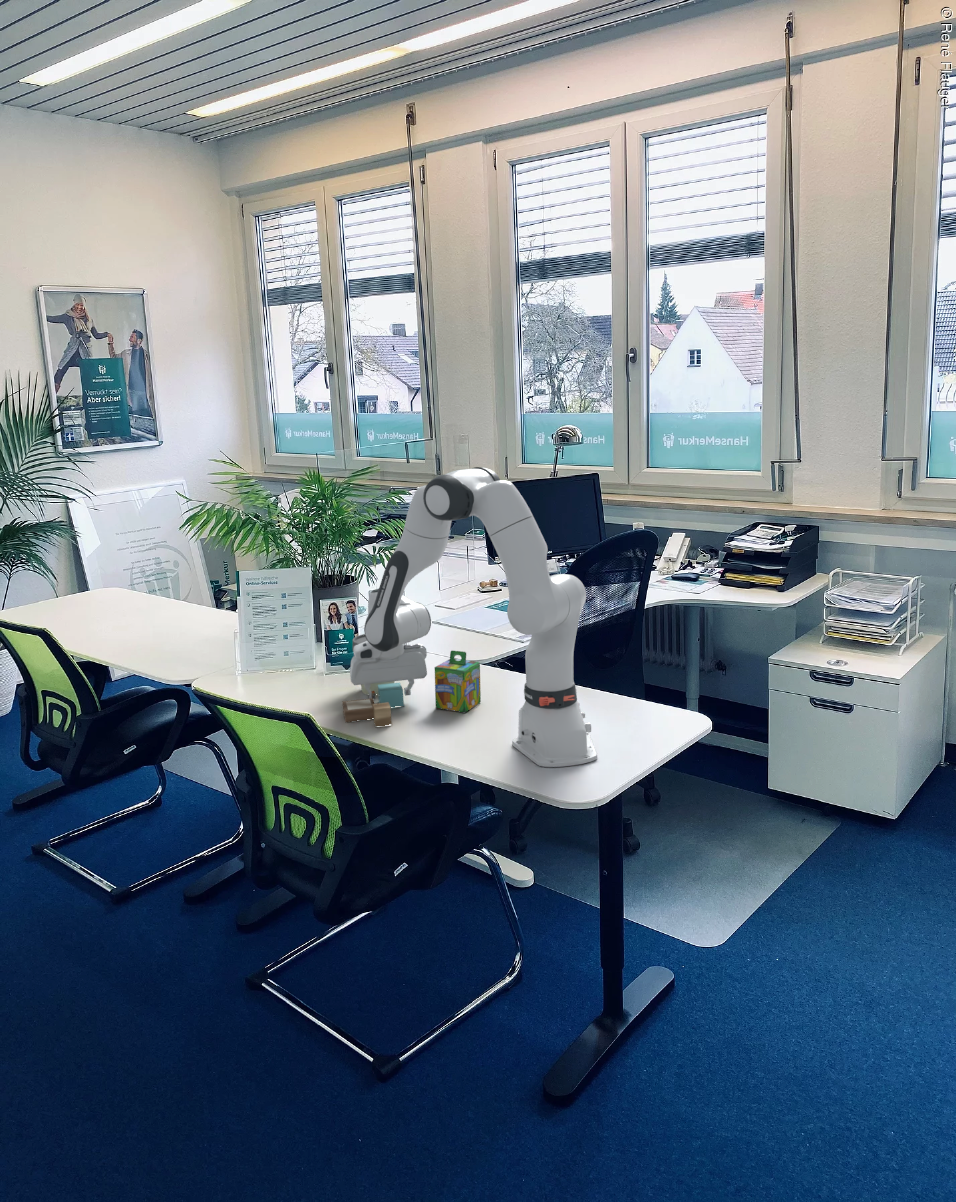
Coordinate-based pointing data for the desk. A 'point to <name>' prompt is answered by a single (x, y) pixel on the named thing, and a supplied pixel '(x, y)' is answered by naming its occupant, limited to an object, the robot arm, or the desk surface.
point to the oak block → (382, 714)
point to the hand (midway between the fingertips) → (390, 696)
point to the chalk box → (457, 683)
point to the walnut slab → (358, 709)
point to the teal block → (391, 694)
